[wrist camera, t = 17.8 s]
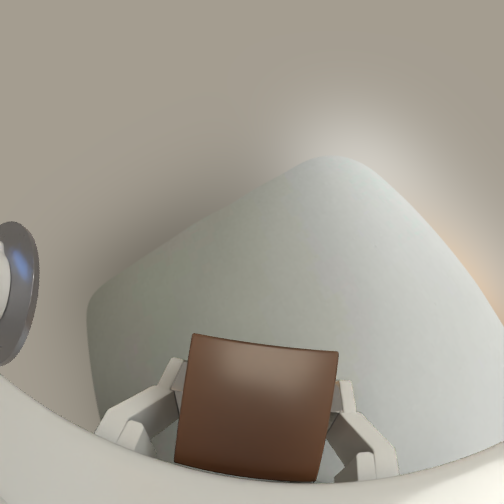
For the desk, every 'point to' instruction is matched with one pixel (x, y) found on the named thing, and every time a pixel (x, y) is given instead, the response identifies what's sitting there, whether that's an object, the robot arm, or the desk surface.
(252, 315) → the desk surface
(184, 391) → the walnut block
